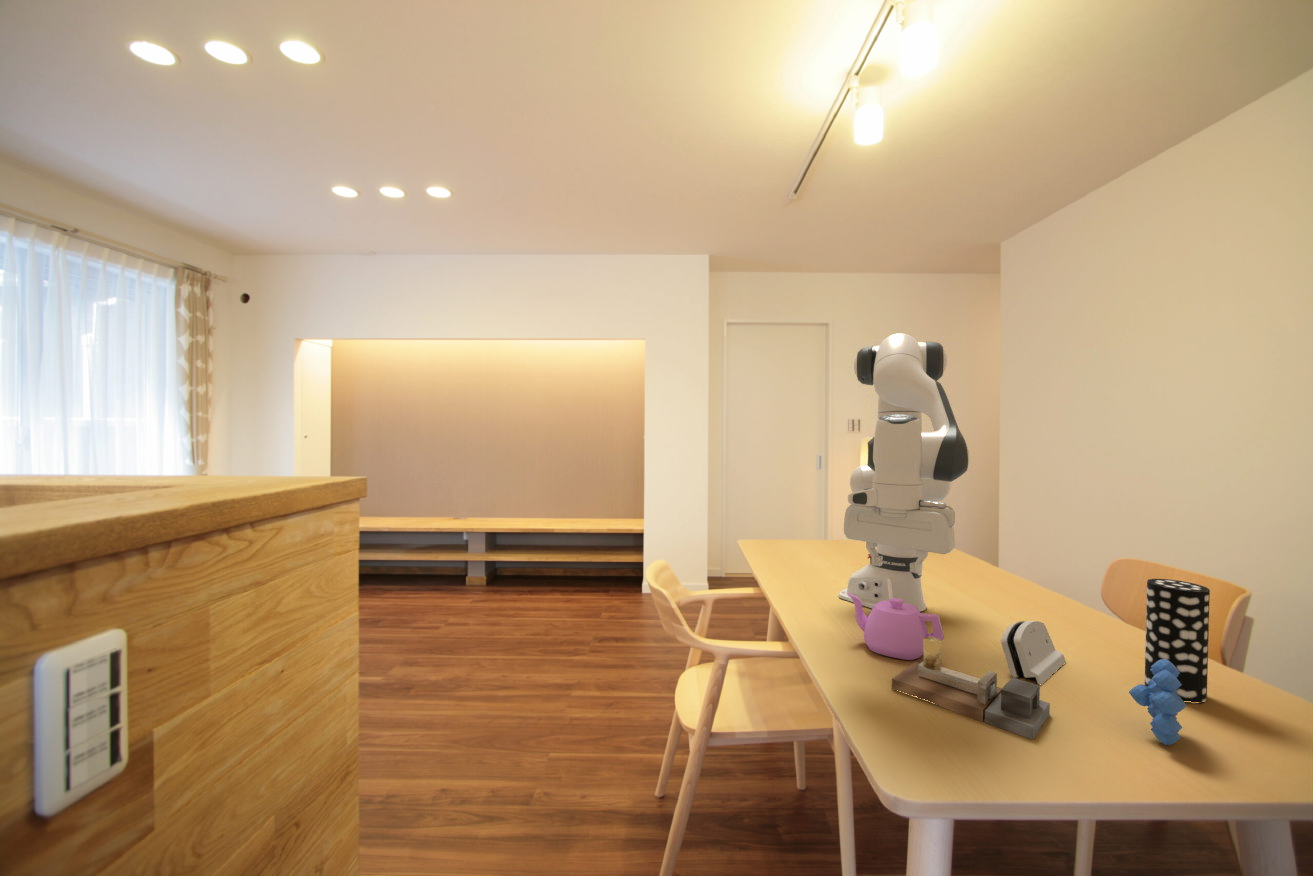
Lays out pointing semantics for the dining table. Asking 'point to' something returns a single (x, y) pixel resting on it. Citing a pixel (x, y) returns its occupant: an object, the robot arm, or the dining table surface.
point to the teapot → (896, 628)
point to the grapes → (1162, 701)
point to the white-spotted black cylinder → (1179, 633)
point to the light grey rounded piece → (1030, 651)
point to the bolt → (946, 670)
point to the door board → (983, 700)
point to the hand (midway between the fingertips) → (895, 569)
